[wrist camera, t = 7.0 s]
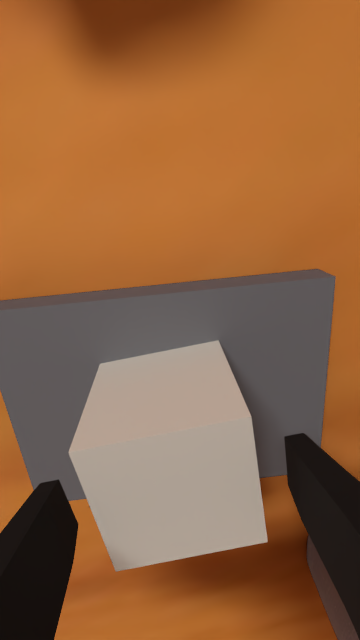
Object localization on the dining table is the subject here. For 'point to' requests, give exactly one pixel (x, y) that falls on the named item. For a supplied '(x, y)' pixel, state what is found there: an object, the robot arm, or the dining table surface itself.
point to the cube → (169, 457)
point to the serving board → (161, 335)
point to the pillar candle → (330, 596)
